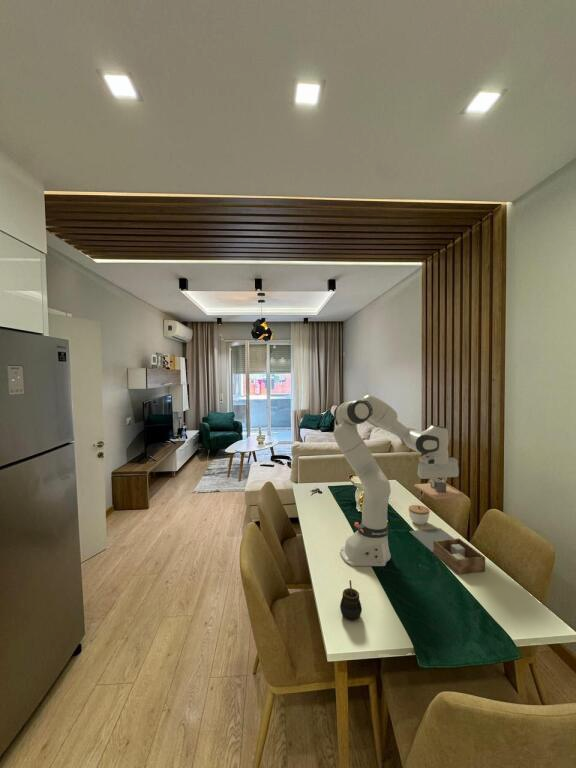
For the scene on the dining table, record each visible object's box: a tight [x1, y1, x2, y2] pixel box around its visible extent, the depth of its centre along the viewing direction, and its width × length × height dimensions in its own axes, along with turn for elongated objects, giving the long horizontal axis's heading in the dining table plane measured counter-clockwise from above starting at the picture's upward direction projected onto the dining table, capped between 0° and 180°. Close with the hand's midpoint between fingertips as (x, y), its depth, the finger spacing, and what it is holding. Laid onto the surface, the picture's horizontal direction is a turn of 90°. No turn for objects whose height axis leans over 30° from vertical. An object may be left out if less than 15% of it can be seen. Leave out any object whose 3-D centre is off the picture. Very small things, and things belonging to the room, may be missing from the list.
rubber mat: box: [409, 527, 455, 553], centre depth 163 cm, size 18×20×1 cm
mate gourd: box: [339, 579, 363, 621], centre depth 112 cm, size 7×8×10 cm
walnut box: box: [432, 537, 486, 576], centre depth 144 cm, size 13×16×6 cm
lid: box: [413, 478, 466, 500], centre depth 161 cm, size 15×18×5 cm
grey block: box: [451, 544, 465, 557], centre depth 148 cm, size 4×4×4 cm
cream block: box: [452, 553, 465, 559], centre depth 140 cm, size 4×4×4 cm
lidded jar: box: [408, 504, 430, 526], centre depth 182 cm, size 11×11×9 cm
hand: (438, 486), depth 161 cm, fingers closed on lid, 3 cm apart
